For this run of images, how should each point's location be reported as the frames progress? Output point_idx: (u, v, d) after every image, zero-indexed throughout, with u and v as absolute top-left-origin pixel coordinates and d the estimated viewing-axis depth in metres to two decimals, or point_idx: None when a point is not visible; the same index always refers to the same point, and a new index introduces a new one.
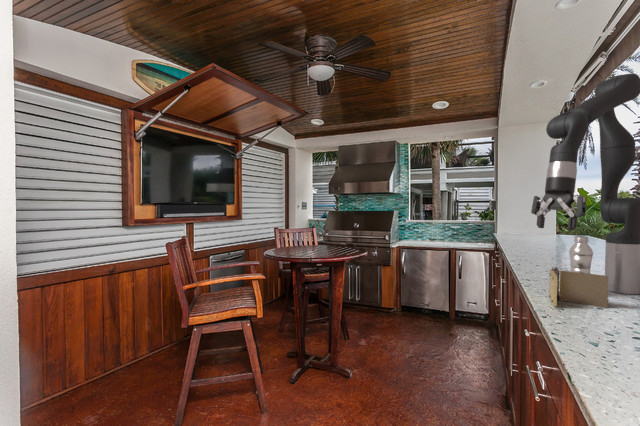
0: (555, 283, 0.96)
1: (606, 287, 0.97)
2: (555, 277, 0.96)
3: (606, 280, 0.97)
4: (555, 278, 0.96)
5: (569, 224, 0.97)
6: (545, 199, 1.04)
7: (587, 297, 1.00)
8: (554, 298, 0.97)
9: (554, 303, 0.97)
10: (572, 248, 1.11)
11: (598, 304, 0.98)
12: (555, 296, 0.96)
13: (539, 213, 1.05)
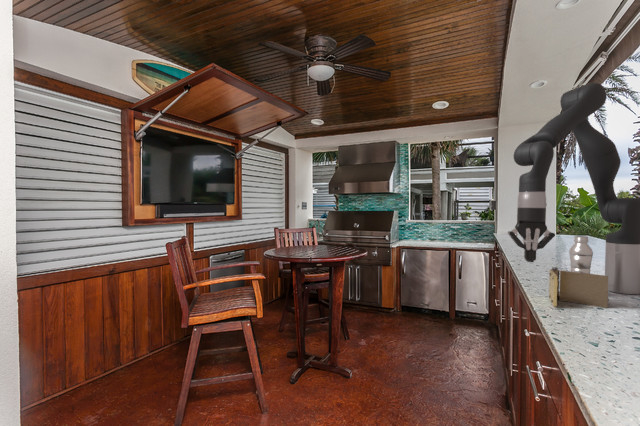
0: (555, 283, 0.96)
1: (606, 287, 0.97)
2: (555, 277, 0.96)
3: (606, 280, 0.97)
4: (555, 278, 0.96)
5: (532, 257, 1.01)
6: (521, 228, 1.02)
7: (587, 297, 1.00)
8: (554, 298, 0.97)
9: (554, 303, 0.97)
10: (572, 248, 1.11)
11: (598, 304, 0.98)
12: (555, 296, 0.96)
13: (528, 247, 1.01)
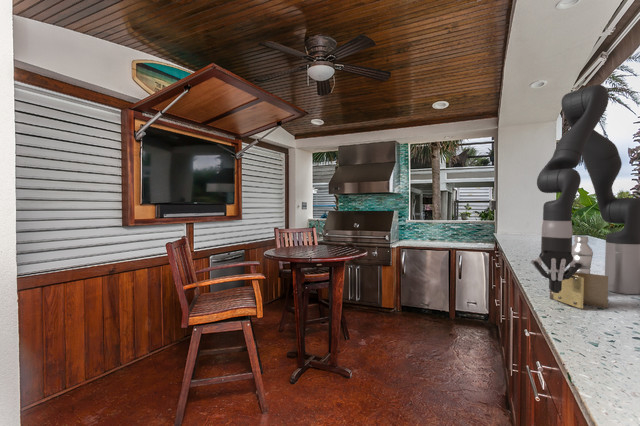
0: (582, 285, 0.94)
1: (606, 287, 0.97)
2: (582, 279, 0.94)
3: (606, 280, 0.97)
4: (582, 280, 0.94)
5: (558, 288, 0.98)
6: (546, 258, 0.98)
7: (587, 297, 1.00)
8: (581, 300, 0.94)
9: (581, 305, 0.95)
10: (572, 248, 1.11)
11: (598, 304, 0.98)
12: (582, 298, 0.94)
13: (554, 277, 0.98)
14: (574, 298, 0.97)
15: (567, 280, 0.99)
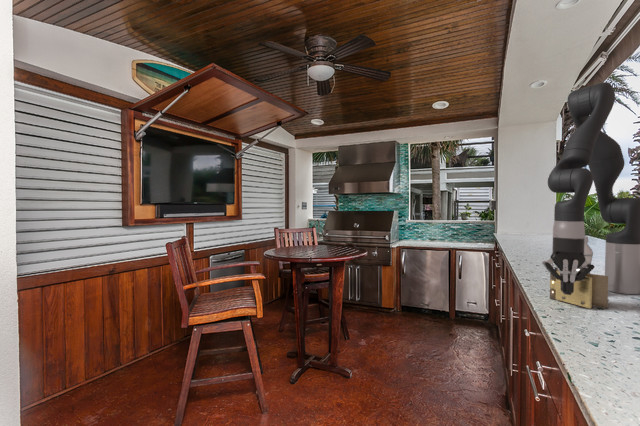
0: (591, 285, 0.95)
1: (606, 287, 0.97)
2: (591, 278, 0.95)
3: (606, 280, 0.97)
4: (591, 280, 0.95)
5: (570, 289, 0.96)
6: (557, 259, 0.97)
7: None
8: (590, 300, 0.95)
9: (590, 305, 0.95)
10: None
11: (598, 304, 0.98)
12: (590, 298, 0.95)
13: (566, 279, 0.96)
14: (581, 298, 0.97)
15: None
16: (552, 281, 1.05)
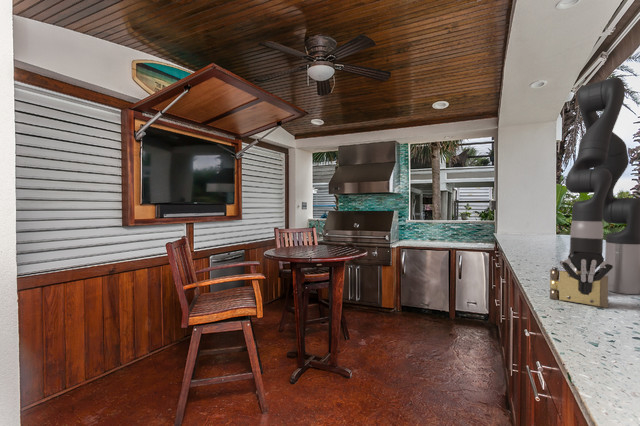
0: None
1: (606, 287, 0.97)
2: None
3: (606, 280, 0.97)
4: None
5: (588, 289, 0.96)
6: (575, 259, 0.97)
7: None
8: (599, 298, 0.97)
9: (599, 303, 0.97)
10: None
11: None
12: (599, 295, 0.97)
13: (584, 279, 0.96)
14: (590, 296, 0.98)
15: None
16: (554, 281, 1.05)
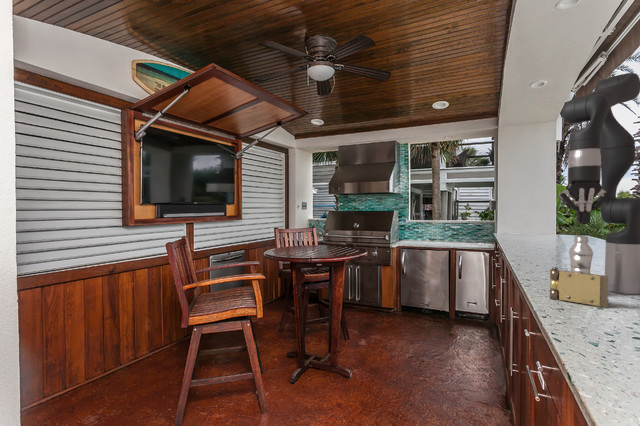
0: None
1: (606, 287, 0.97)
2: None
3: (606, 280, 0.97)
4: None
5: (586, 219, 0.95)
6: (573, 189, 0.96)
7: None
8: (599, 298, 0.97)
9: (599, 303, 0.97)
10: (572, 248, 1.11)
11: None
12: (599, 295, 0.97)
13: (582, 208, 0.95)
14: (590, 296, 0.98)
15: (580, 279, 1.00)
16: (554, 281, 1.05)
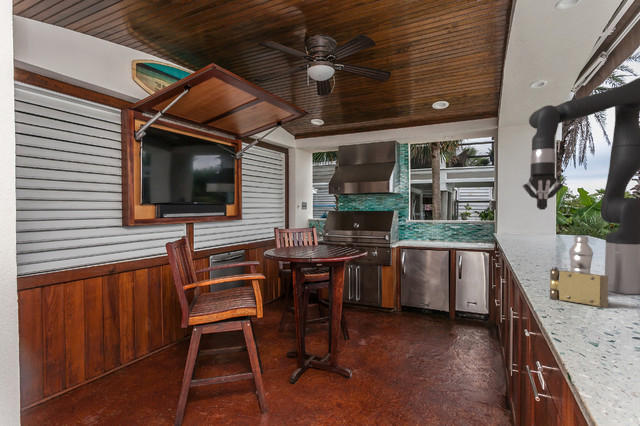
0: None
1: (606, 287, 0.97)
2: None
3: (606, 280, 0.97)
4: None
5: (544, 205, 1.19)
6: (534, 181, 1.20)
7: None
8: (599, 298, 0.97)
9: (599, 303, 0.97)
10: (572, 248, 1.11)
11: None
12: (599, 295, 0.97)
13: (540, 196, 1.19)
14: (590, 296, 0.98)
15: (580, 279, 1.00)
16: (554, 281, 1.05)
